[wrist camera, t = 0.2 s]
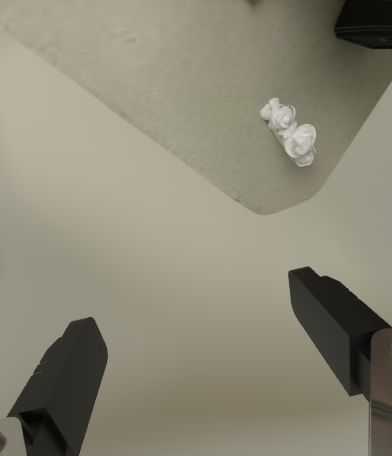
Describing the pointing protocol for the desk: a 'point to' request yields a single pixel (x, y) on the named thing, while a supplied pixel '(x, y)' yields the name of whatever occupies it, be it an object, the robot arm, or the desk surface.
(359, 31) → the portable radio
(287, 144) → the hat wearing toy figure
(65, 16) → the desk surface
